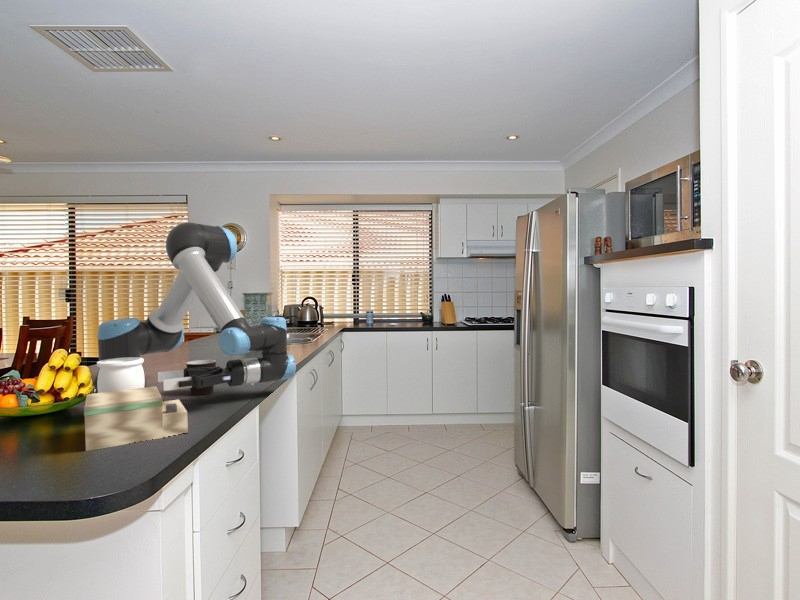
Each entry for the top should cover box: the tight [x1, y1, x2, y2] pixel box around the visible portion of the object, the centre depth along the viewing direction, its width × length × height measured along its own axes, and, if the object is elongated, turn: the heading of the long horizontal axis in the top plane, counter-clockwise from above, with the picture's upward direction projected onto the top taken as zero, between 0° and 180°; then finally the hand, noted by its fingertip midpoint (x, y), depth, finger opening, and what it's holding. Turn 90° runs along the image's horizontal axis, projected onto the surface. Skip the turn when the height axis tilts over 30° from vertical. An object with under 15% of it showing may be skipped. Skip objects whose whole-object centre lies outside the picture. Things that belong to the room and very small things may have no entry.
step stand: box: [83, 386, 189, 452], centre depth 102 cm, size 19×14×9 cm
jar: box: [96, 357, 146, 393], centre depth 115 cm, size 11×10×15 cm
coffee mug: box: [185, 359, 217, 397], centre depth 143 cm, size 12×9×10 cm
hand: (160, 381), depth 120 cm, fingers open, 13 cm apart
